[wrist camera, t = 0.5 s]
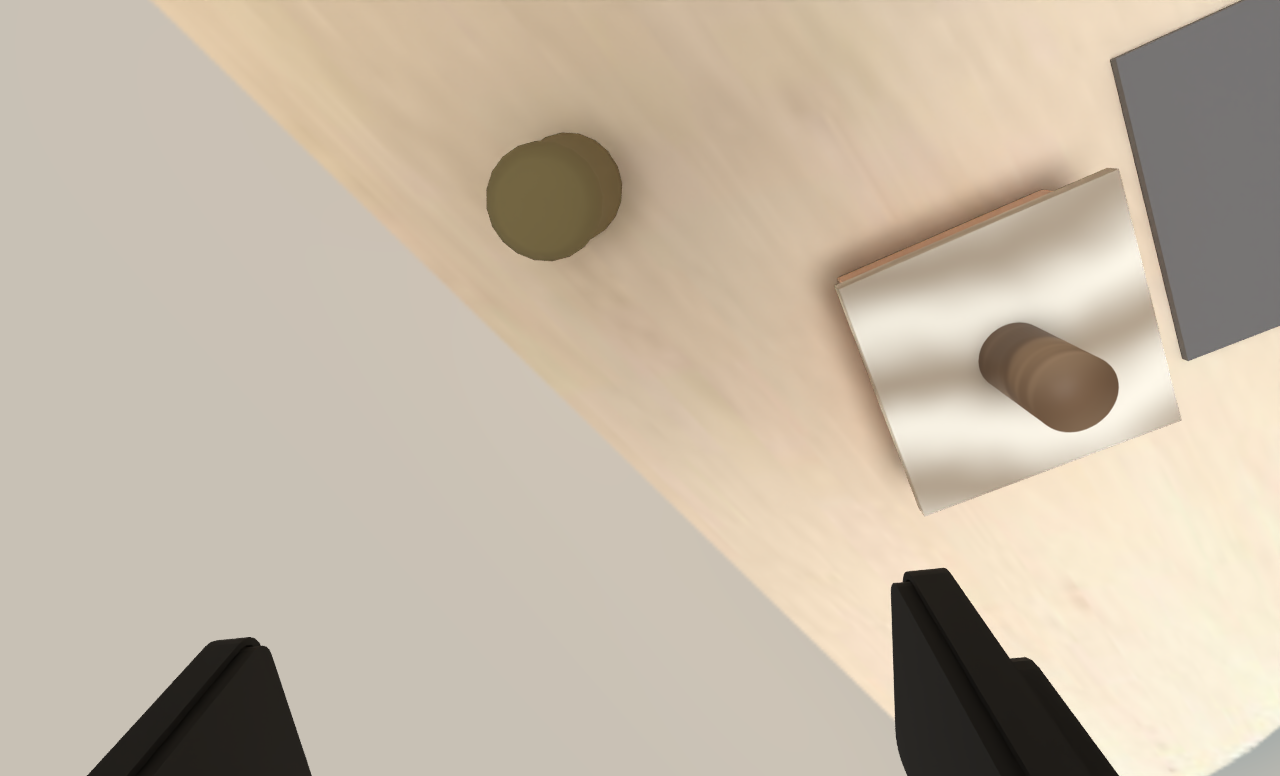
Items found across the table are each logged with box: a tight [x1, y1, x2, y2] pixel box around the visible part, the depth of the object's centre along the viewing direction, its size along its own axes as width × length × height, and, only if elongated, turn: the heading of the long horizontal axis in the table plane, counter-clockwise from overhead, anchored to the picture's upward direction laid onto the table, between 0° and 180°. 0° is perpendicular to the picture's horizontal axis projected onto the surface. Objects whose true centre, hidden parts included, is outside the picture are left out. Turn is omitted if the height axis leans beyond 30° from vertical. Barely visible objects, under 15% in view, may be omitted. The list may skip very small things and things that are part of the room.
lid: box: [835, 168, 1181, 516], centre depth 36 cm, size 14×14×7 cm
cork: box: [487, 133, 622, 261], centre depth 37 cm, size 6×6×11 cm
